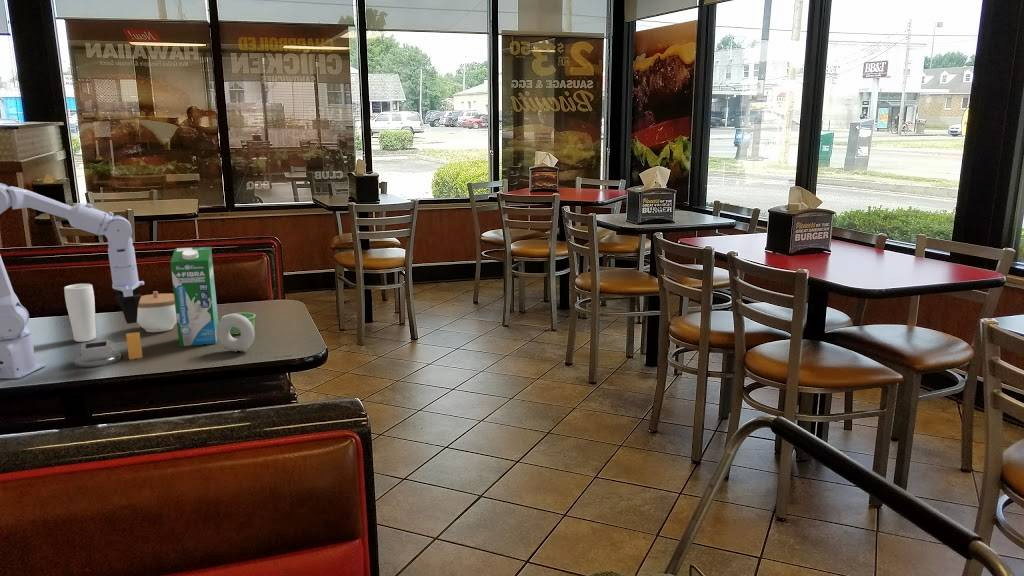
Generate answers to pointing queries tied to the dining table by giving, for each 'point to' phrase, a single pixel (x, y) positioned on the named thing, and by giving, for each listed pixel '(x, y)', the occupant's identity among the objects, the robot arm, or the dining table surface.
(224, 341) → the donut
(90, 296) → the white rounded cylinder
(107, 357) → the grey square frame
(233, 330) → the ramekin
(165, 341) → the dining table surface
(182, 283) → the milk carton
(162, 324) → the lidded bowl
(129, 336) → the orange block
